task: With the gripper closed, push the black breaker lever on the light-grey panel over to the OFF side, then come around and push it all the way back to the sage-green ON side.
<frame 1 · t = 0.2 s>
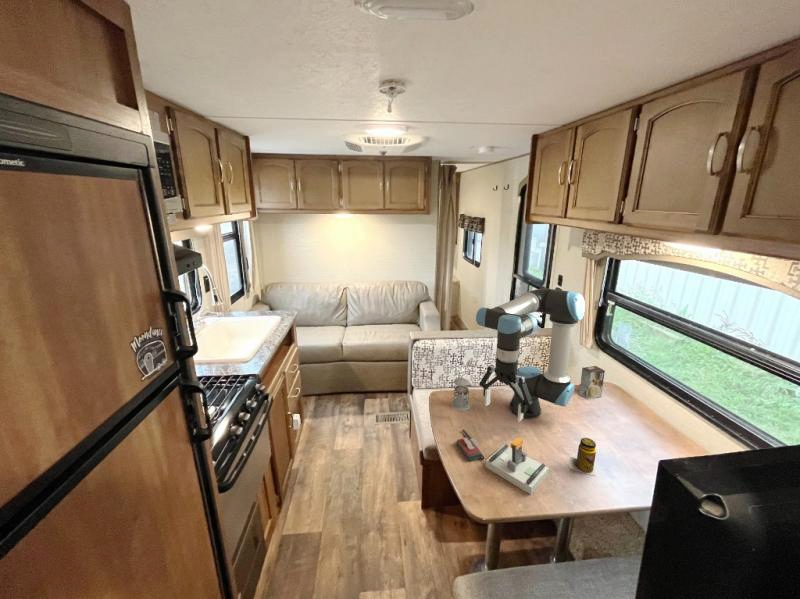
hand: (503, 411, 125), 27 cm above the table, fingers open, 13 cm apart
panel: (516, 470, 134), on the table
lever: (517, 452, 132), point 8 cm above the table, hinge at 5.0°
walkie-talkie: (467, 447, 148), on the table
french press: (461, 404, 180), on the table
coffee box: (589, 395, 187), on the table
condiment: (581, 466, 135), on the table
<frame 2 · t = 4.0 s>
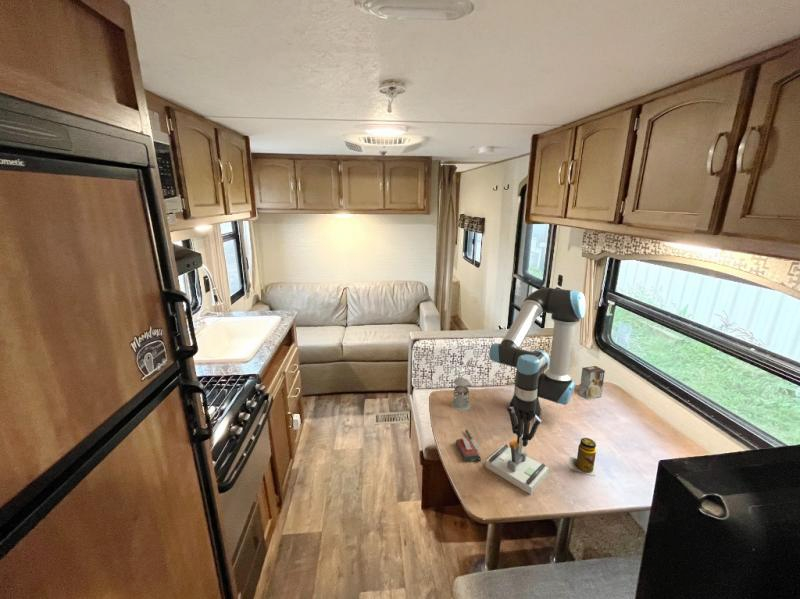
hand: (521, 451, 130), 9 cm above the table, fingers closed
lever: (516, 452, 132), point 8 cm above the table, hinge at 9.9°, touching gripper
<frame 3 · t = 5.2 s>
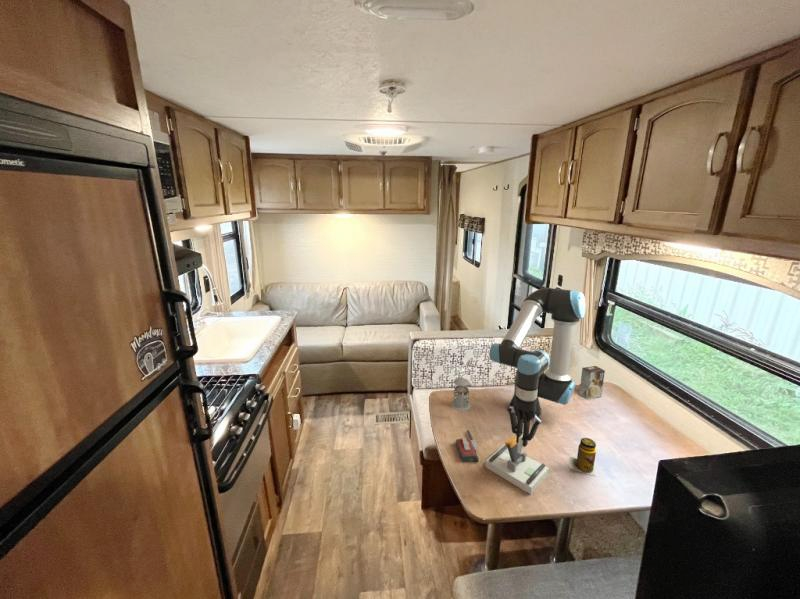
hand: (520, 451, 130), 10 cm above the table, fingers closed
lever: (514, 451, 133), point 8 cm above the table, hinge at 22.7°
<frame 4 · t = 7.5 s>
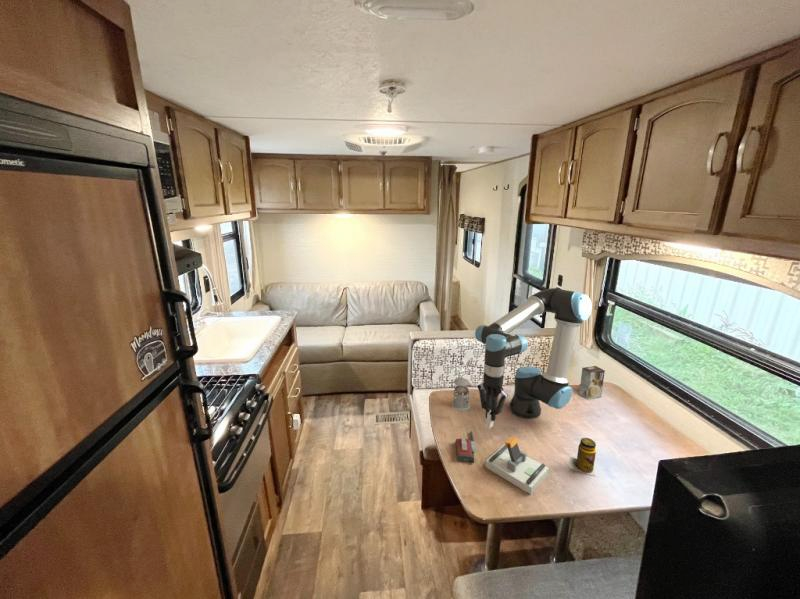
hand: (489, 426, 139), 14 cm above the table, fingers closed
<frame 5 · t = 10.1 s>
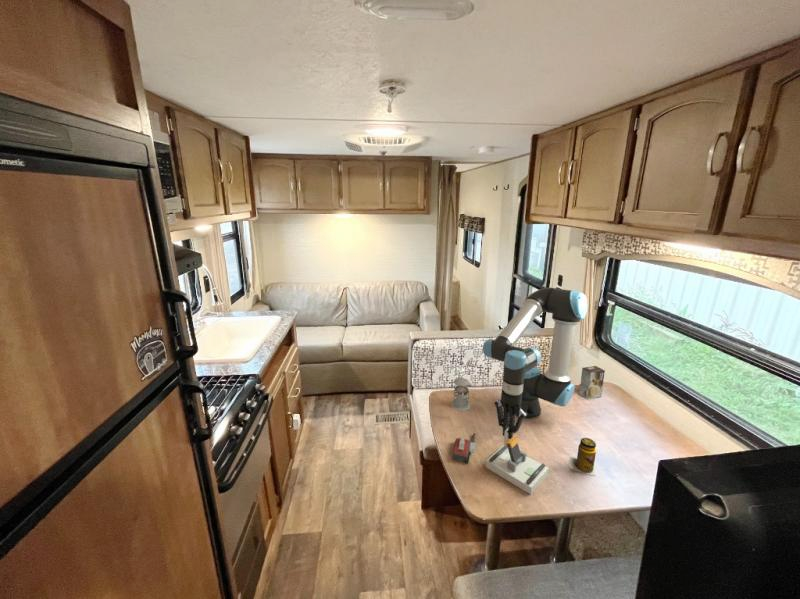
hand: (506, 443, 134), 10 cm above the table, fingers closed
lever: (514, 451, 133), point 8 cm above the table, hinge at 21.3°, touching gripper
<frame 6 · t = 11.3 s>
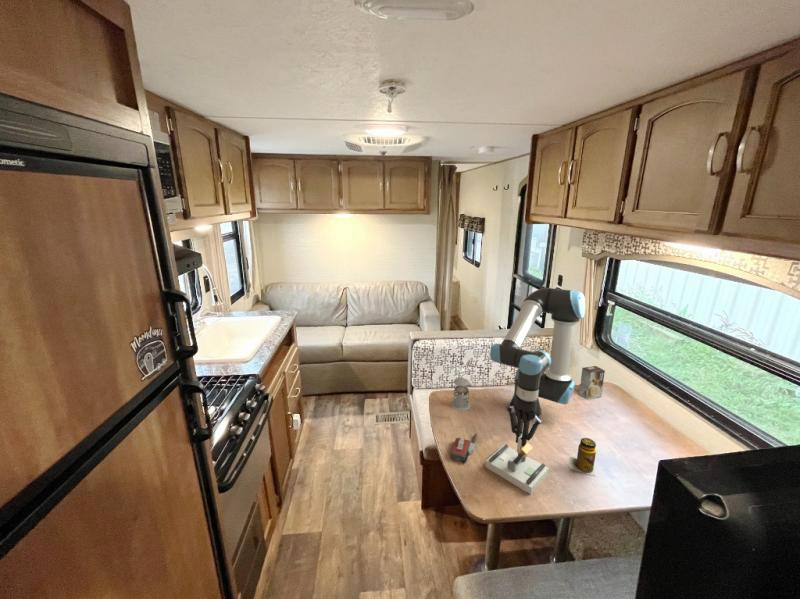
hand: (519, 451, 130), 10 cm above the table, fingers closed
lever: (521, 455, 131), point 8 cm above the table, hinge at -24.6°, touching gripper
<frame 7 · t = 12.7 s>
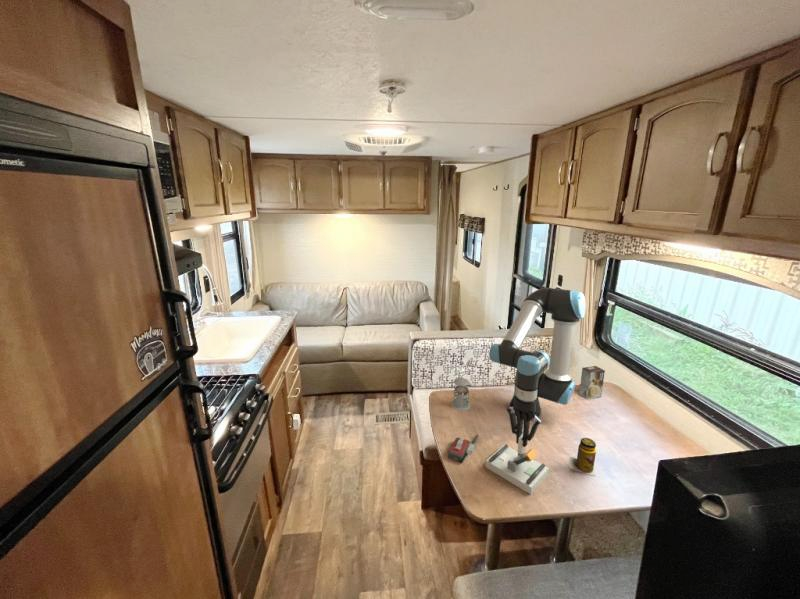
hand: (520, 451, 131), 9 cm above the table, fingers closed
lever: (523, 458, 130), point 7 cm above the table, hinge at -41.9°
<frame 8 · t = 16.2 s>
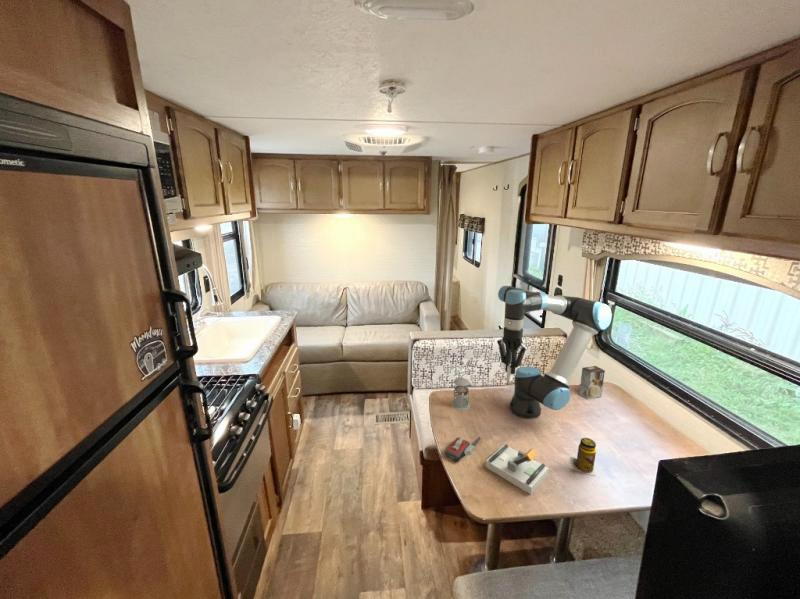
hand: (509, 379, 145), 29 cm above the table, fingers closed
at the end: lever at -42° (first picture: +5°) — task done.
